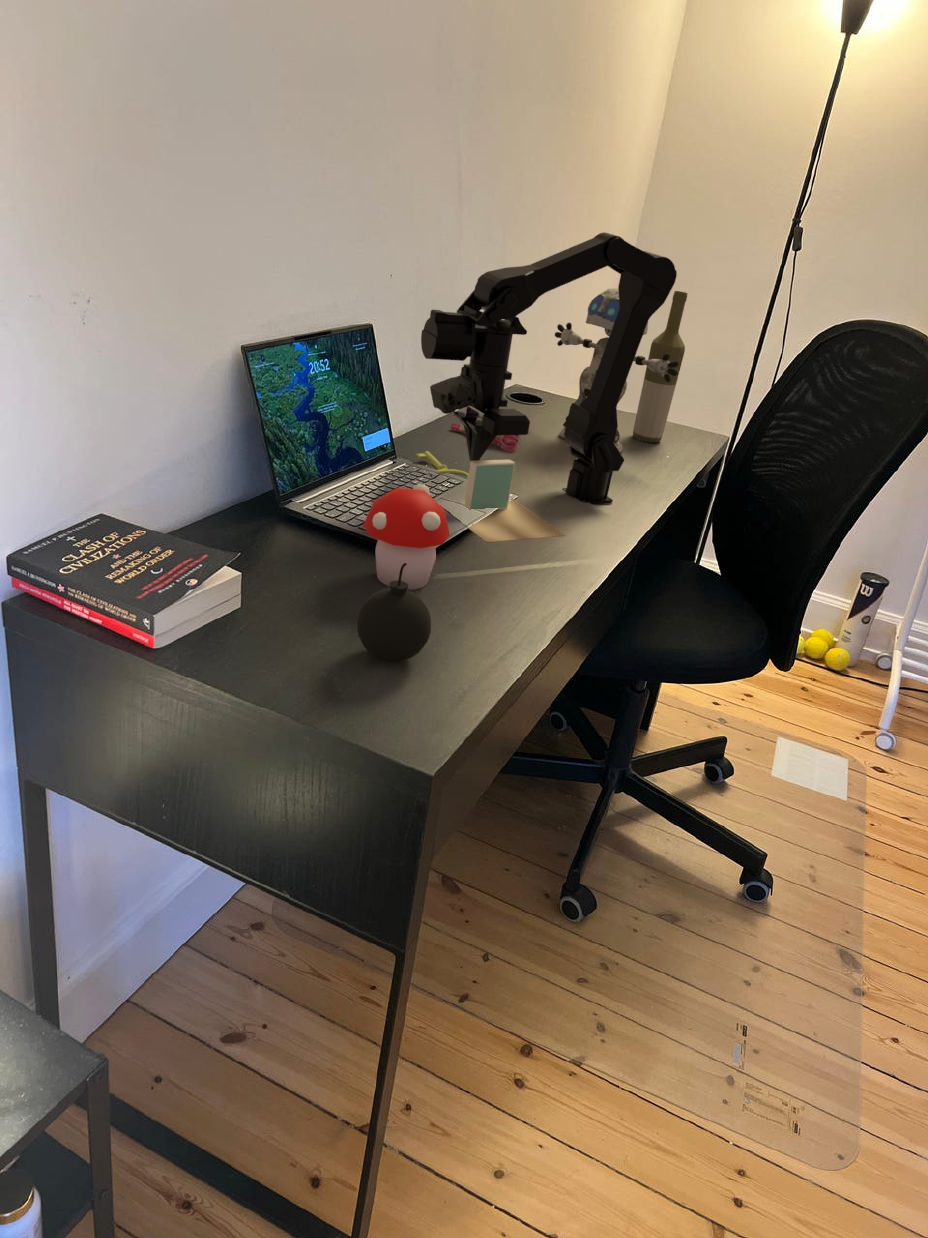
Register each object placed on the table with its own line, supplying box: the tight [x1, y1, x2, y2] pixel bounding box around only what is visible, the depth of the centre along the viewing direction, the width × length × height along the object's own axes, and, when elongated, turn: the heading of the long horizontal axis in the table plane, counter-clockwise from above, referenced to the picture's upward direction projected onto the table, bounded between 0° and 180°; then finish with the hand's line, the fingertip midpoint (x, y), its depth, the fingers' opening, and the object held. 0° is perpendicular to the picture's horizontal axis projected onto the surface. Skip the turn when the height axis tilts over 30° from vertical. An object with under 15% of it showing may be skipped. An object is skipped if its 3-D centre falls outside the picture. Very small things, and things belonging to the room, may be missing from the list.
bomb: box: [356, 563, 432, 663], centre depth 100 cm, size 8×8×12 cm
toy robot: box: [554, 287, 679, 453], centre depth 185 cm, size 31×12×30 cm, turn 42°
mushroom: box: [362, 483, 451, 591], centre depth 119 cm, size 11×11×12 cm
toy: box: [450, 423, 521, 453], centre depth 181 cm, size 7×6×15 cm
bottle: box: [632, 290, 688, 443], centre depth 194 cm, size 7×7×30 cm
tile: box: [464, 459, 516, 510], centre depth 146 cm, size 7×2×8 cm, turn 120°
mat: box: [468, 497, 567, 543], centre depth 144 cm, size 14×16×1 cm
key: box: [415, 450, 469, 479], centre depth 161 cm, size 7×12×2 cm, turn 47°
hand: (473, 461), depth 149 cm, fingers closed
